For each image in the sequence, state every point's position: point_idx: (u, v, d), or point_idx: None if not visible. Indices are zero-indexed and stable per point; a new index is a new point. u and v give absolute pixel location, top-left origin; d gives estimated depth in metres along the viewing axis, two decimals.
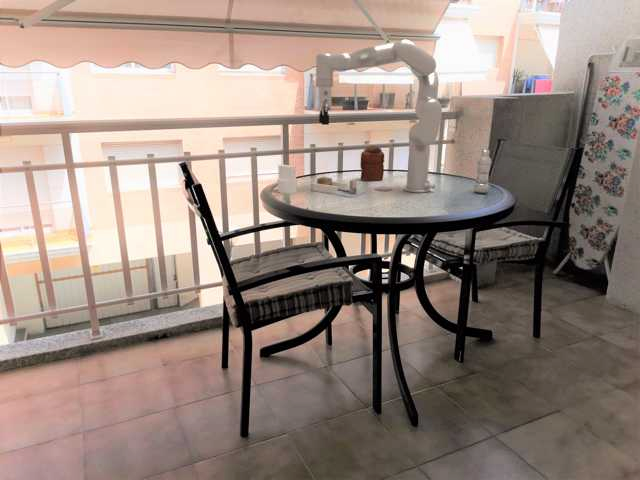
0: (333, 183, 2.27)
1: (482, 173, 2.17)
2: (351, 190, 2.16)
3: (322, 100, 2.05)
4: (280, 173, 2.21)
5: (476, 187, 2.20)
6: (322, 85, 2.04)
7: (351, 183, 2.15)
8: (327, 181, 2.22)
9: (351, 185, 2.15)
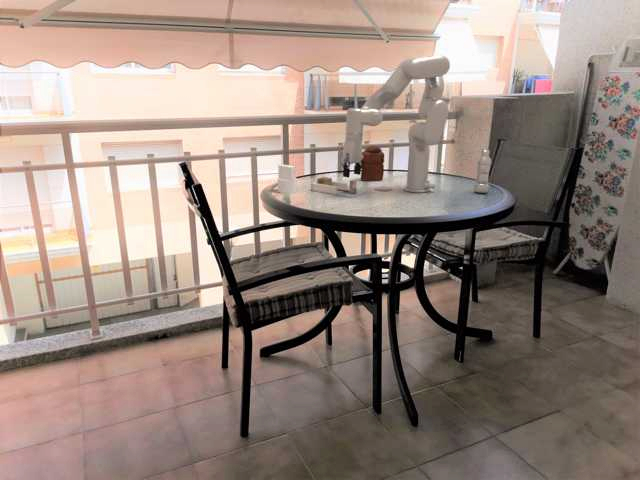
0: (333, 183, 2.27)
1: (482, 173, 2.17)
2: (351, 190, 2.16)
3: None
4: (280, 173, 2.21)
5: (476, 187, 2.20)
6: None
7: (351, 183, 2.15)
8: (327, 181, 2.22)
9: (351, 185, 2.15)
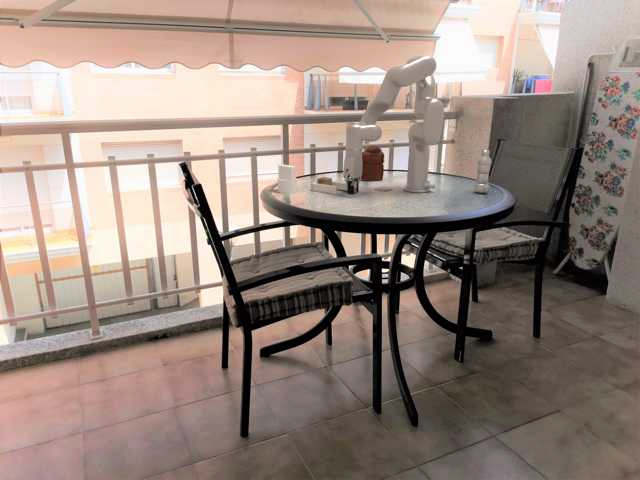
0: (333, 183, 2.27)
1: (482, 173, 2.17)
2: None
3: None
4: (280, 173, 2.21)
5: (476, 187, 2.20)
6: None
7: None
8: (327, 181, 2.22)
9: None
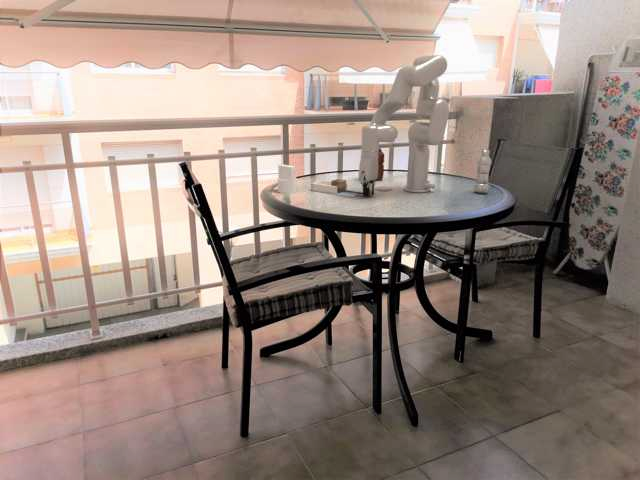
0: None
1: (482, 173, 2.17)
2: None
3: None
4: (280, 173, 2.21)
5: (476, 187, 2.20)
6: None
7: None
8: (342, 183, 2.18)
9: None
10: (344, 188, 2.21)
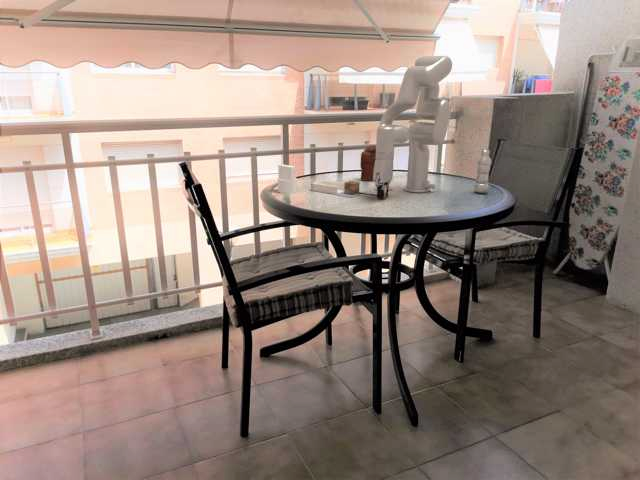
0: (333, 183, 2.27)
1: (482, 173, 2.17)
2: None
3: None
4: (280, 173, 2.21)
5: (476, 187, 2.20)
6: None
7: None
8: (355, 185, 2.14)
9: None
10: (357, 190, 2.17)
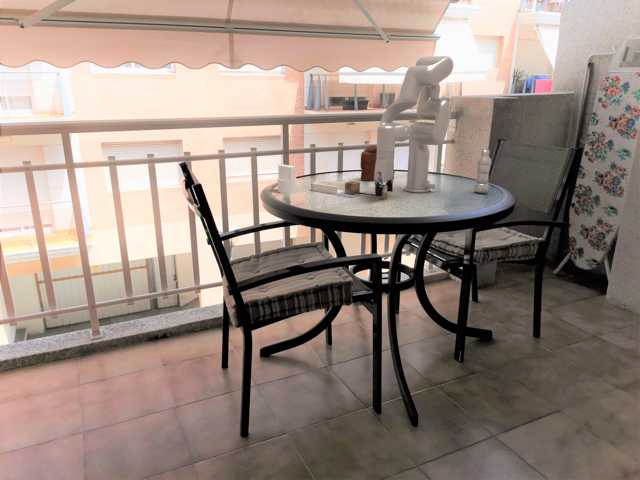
0: (333, 183, 2.27)
1: (482, 173, 2.17)
2: None
3: None
4: (280, 173, 2.21)
5: (476, 187, 2.20)
6: None
7: None
8: (355, 185, 2.14)
9: None
10: (358, 190, 2.17)
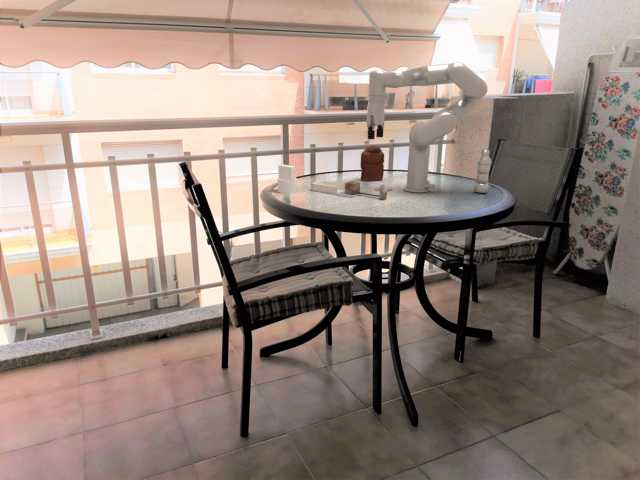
0: (333, 183, 2.27)
1: (482, 173, 2.17)
2: (381, 195, 2.07)
3: None
4: (280, 173, 2.21)
5: (476, 187, 2.20)
6: None
7: (381, 187, 2.06)
8: (355, 185, 2.14)
9: (382, 189, 2.06)
10: (358, 190, 2.17)
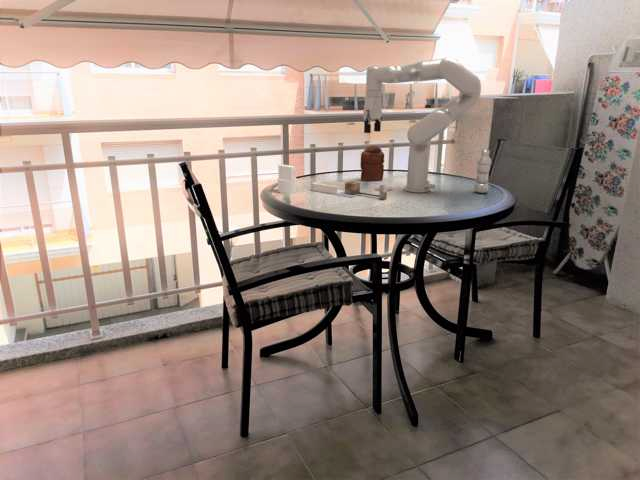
0: (333, 183, 2.27)
1: (482, 173, 2.17)
2: (381, 195, 2.07)
3: None
4: (280, 173, 2.21)
5: (476, 187, 2.20)
6: None
7: (381, 187, 2.06)
8: (355, 185, 2.14)
9: (382, 189, 2.06)
10: (358, 190, 2.17)
